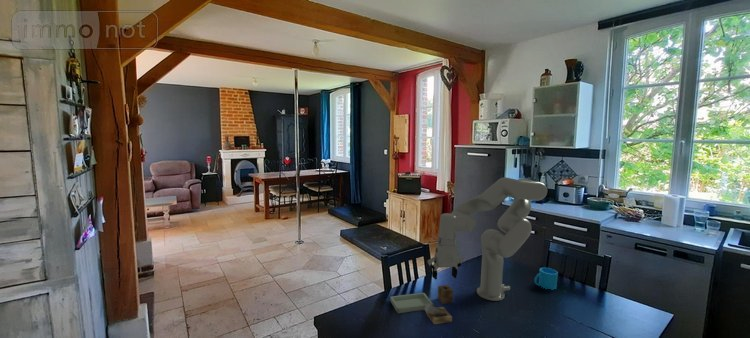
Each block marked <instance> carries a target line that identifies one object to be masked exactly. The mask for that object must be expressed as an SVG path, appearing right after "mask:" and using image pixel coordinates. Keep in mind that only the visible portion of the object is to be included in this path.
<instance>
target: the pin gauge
mask: <svg viewBox="0 0 750 338" xmlns="http://www.w3.org/2000/svg"><path fill="white" fill-rule="evenodd" d="M424 309H425V310H424V311H425V313H426V312H427V313H430V314H432V315H435V316H436V317H441V316H445V314H446V312H445V311H444V310H442V309H440V308H438V307H437V306H435V305H434V306H432V305H430V304H426V306H425V308H424Z"/></svg>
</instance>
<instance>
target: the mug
mask: <svg viewBox="0 0 750 338" xmlns="http://www.w3.org/2000/svg"><path fill="white" fill-rule="evenodd" d="M558 275H559V272H558V271H557V270H555V269H553V268H550V267H539V273H537V274H536V275H535V277H534V283H535V285H536V286H538V287H540V286H541V287H540V288H542V287H543V288H542V289H544V288H545V290H547V289H551V290H550V291H555V290H554V289H556V290H557V287H558ZM537 281H538V282H537Z"/></svg>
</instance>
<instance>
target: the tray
mask: <svg viewBox="0 0 750 338" xmlns="http://www.w3.org/2000/svg"><path fill="white" fill-rule="evenodd" d="M389 297H390V298H389V301H390V303H391V304H392V306H393V309H394V311H396V313H397V314H404V313H411V312H419V311H425V309H424V308H425V306H426V304H430V305H432V306H435V305H434V303H433V302H432V300H431V299H430V298H429V296H427V294H426V293H425V292H418V293H411V294H410V293H409V294H402V295H401V294H400V295H395V296H394V295H393V296H392V295H391V296H389Z"/></svg>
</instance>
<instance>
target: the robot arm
mask: <svg viewBox="0 0 750 338" xmlns="http://www.w3.org/2000/svg"><path fill="white" fill-rule="evenodd" d="M547 195H548V187H547V186H546V184H544V182H541V181H536V180H531V179H527V178H518V179H516V178H513V177H512V178H511V177H500V178H499V179H497V180H496V181H495V182H494V183H493V184H492V185H490V186H489V187H488V188H486V189H485V190H484V191H483V192H482V193H481V194H479V195H477V196H474V197H473V198H470V199H468V200H465V201H463V202H461V203H460V204H458V206H457V207H455V208H454V209H453V210H452V212H451V213H448V212H446V213H445V212H444V213H442V214H440V218H439V229H438V238H436V239H435V241H436V243H437V244H436V246H435V250H434V255H433V256H432V257H430V258H429V259H428V260H427V264H428V267H430V268H431V276H432V278H433V279H434V281H435V280H436V281H437V279H438V269H439V268H442V269H445V268H451V276H452V277H453V278H454V279H457V276H458V270H459V268H460V267H461V266H462V263H463V262H464V259H463V258H462V257H460V256H459V249H458V244H457V242H456V241H457V232H464V233H465V232H466V233H469V232H473V231H474V230H475V228H476V227H477V222H476V219H475V218H474V217H473V216H472V215H473V214H475V213H478V212H487V211H492V210H494V209H496V207H497V206H499V205H500V204H501V203H502V202H503V201H505V200H506V199H508V197H509V198H511V199H513V201H512V203H511V204H510V205H509V207H508V208H507V209H506V211H504V213H503V214H502V215H501V216H500V218H499V219H498V221H497V227H498V229H499V230H501V231H502V232H501V231H499V230H497V229H492V228H489V229H486V230H484V232H483V233H482V234H481V237H480V243H481V244H480V245H481V251H482V252H481V253H482V254H481V273H480V286H479V287H477V289H476V294H477V295H478V296H479V297H480V298H482V299H484V300H488V301H492V302H493V301H494V302H499V301H503V300H504V299H505V295H506V294H505V291H510V290H511V286H510V285H505V284H504V283H503V274H504V273H503V272H504V271H503V270H504V258H510V257H512V256H514V255H515V254H516V253H517V251H518V250H519V249H521V247H522V246H523V244H524V243H525V242H526V241H527V240H528V238H529V237H530V236H531V234H532V233H531V232H532V228H533V227H532V223H531V222H530V221H529V220H528V219H527V216H529V214H530V212H531V209H532V204H531V203H532V202H531V201H542V200H543V199H545V198H546V196H547ZM503 232H504V233H503Z"/></svg>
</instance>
